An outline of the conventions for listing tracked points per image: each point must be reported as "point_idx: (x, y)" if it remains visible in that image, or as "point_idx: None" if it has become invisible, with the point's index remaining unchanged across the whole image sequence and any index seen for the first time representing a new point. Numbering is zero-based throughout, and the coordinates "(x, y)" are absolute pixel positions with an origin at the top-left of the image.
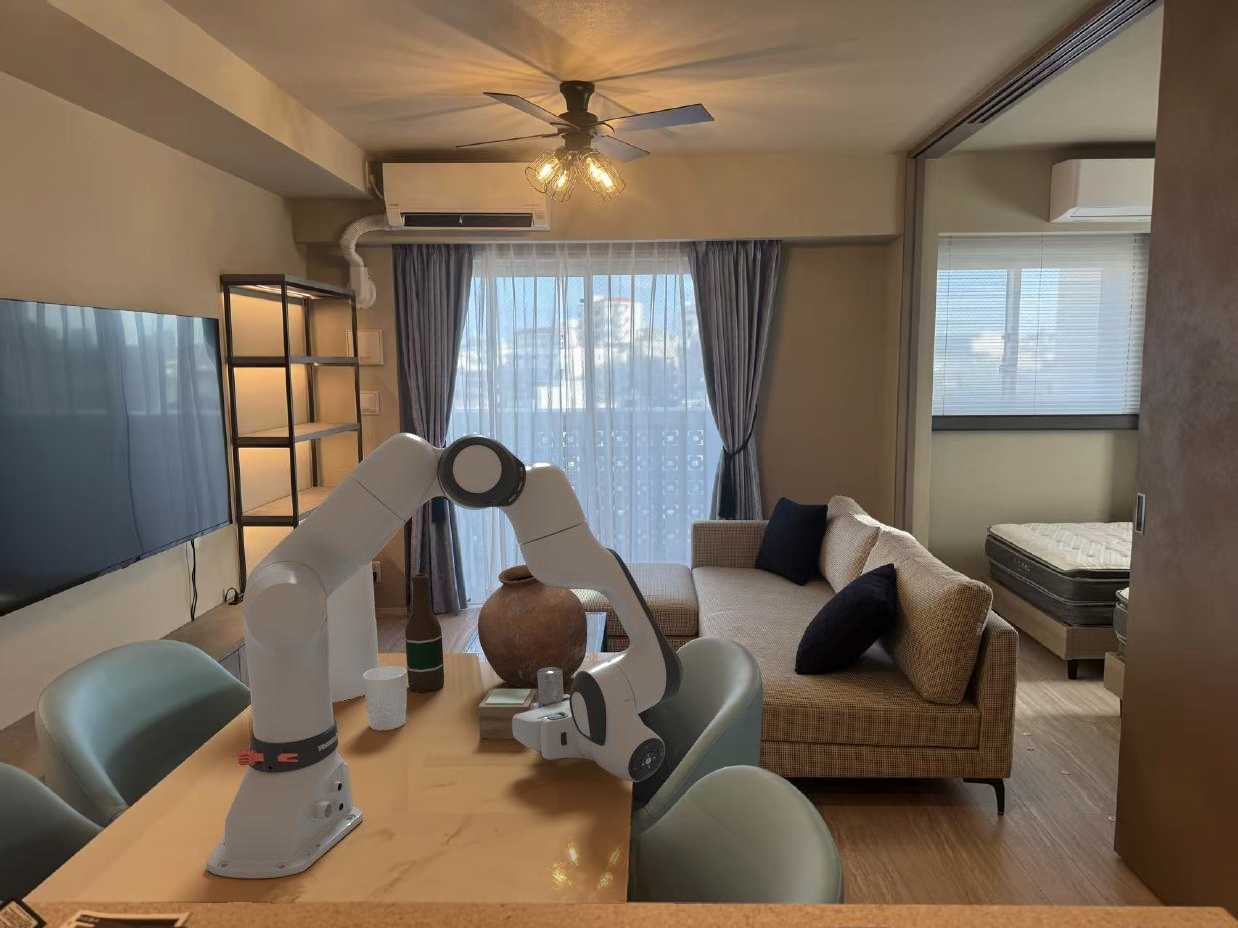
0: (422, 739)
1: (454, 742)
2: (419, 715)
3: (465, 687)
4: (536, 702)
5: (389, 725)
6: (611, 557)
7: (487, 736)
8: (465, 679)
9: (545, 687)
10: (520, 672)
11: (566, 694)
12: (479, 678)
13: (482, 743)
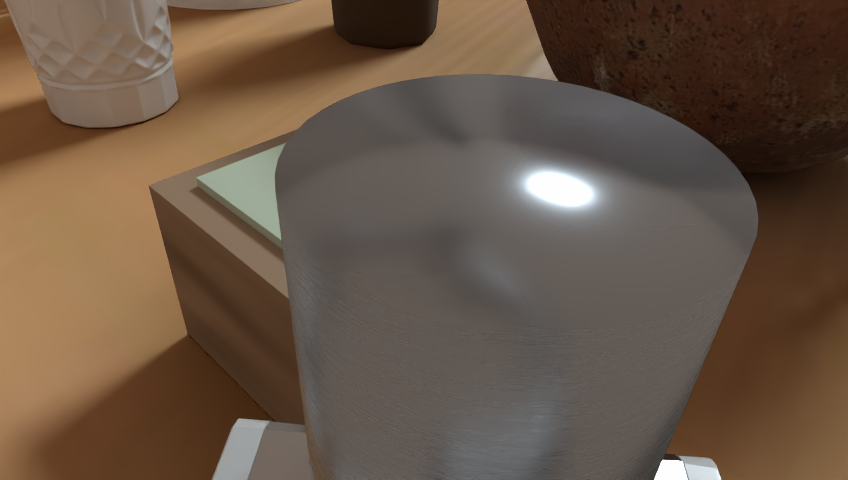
0: (54, 214)
1: (89, 296)
2: (227, 108)
3: (467, 66)
4: (294, 433)
5: (69, 111)
6: None
7: (205, 345)
8: (497, 45)
9: (313, 406)
10: (602, 69)
11: (704, 473)
12: (535, 54)
13: (148, 378)
